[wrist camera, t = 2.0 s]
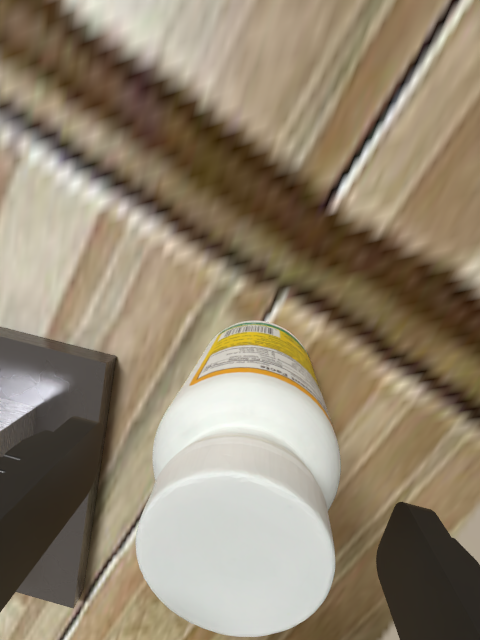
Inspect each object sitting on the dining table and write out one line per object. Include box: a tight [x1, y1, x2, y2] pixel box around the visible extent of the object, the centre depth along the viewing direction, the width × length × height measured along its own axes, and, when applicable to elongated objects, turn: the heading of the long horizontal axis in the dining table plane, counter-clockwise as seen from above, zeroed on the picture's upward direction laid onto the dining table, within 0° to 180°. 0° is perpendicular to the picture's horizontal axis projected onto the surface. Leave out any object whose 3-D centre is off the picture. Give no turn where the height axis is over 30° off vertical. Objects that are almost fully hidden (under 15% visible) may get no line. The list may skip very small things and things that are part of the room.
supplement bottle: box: [136, 321, 341, 637], centre depth 11 cm, size 5×5×10 cm
